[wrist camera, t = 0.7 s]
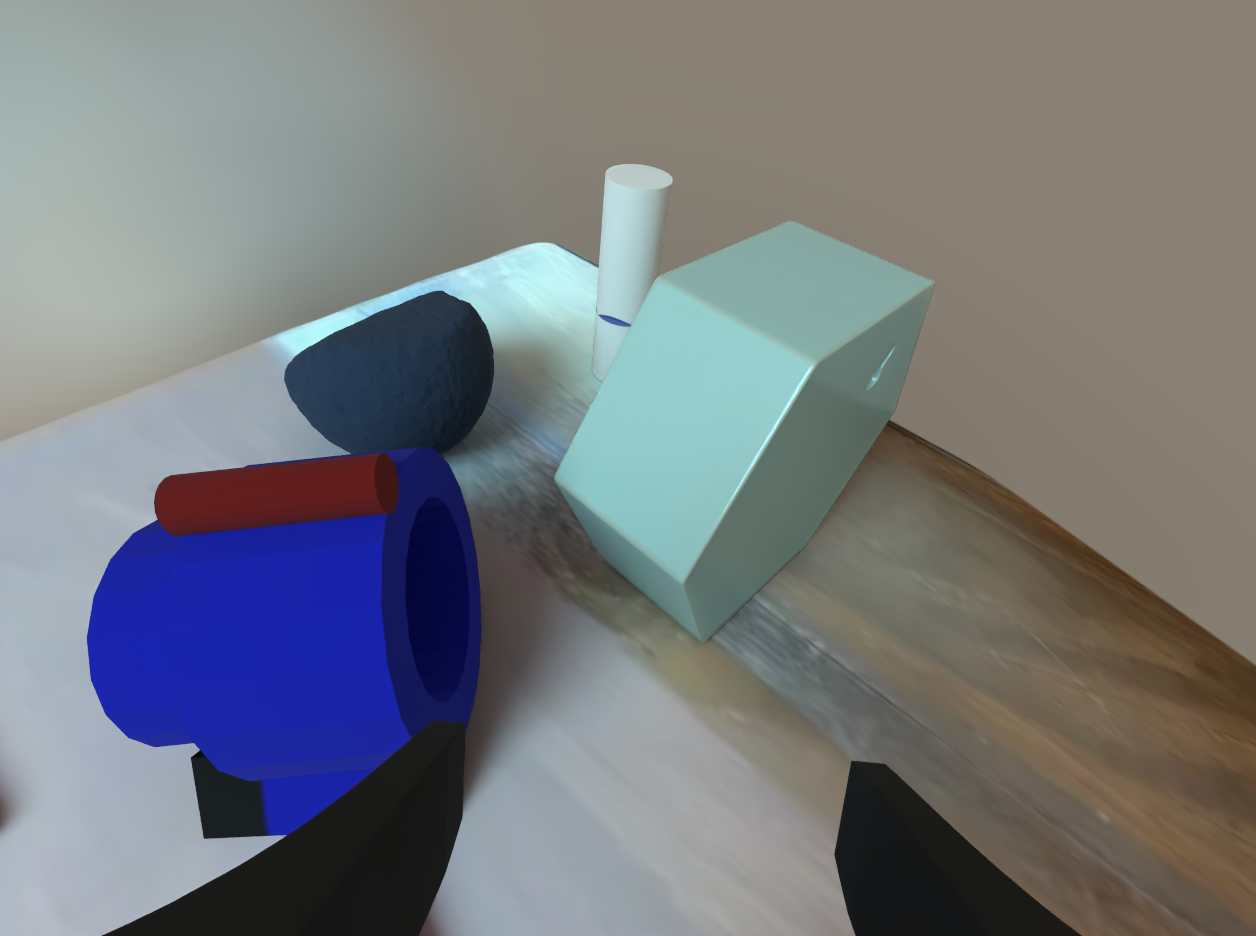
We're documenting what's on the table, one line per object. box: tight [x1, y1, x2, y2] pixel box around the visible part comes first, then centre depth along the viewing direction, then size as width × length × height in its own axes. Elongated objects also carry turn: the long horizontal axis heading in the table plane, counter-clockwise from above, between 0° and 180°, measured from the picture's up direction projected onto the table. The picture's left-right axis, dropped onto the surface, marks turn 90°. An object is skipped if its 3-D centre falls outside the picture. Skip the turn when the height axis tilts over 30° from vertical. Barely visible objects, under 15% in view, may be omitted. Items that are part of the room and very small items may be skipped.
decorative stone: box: [284, 291, 494, 454], centre depth 39 cm, size 12×12×10 cm
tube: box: [592, 164, 673, 382], centre depth 45 cm, size 4×4×15 cm
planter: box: [554, 221, 935, 644], centre depth 32 cm, size 17×8×21 cm
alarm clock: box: [87, 447, 481, 839], centre depth 25 cm, size 12×12×15 cm
